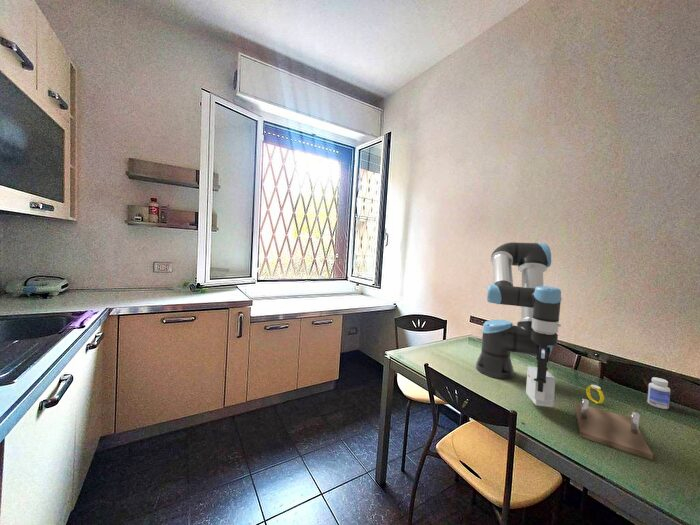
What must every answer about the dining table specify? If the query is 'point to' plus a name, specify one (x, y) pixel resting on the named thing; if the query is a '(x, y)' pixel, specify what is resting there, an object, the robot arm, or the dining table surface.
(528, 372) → the small box
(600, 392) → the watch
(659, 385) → the pill bottle
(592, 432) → the pin tray
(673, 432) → the dining table surface
